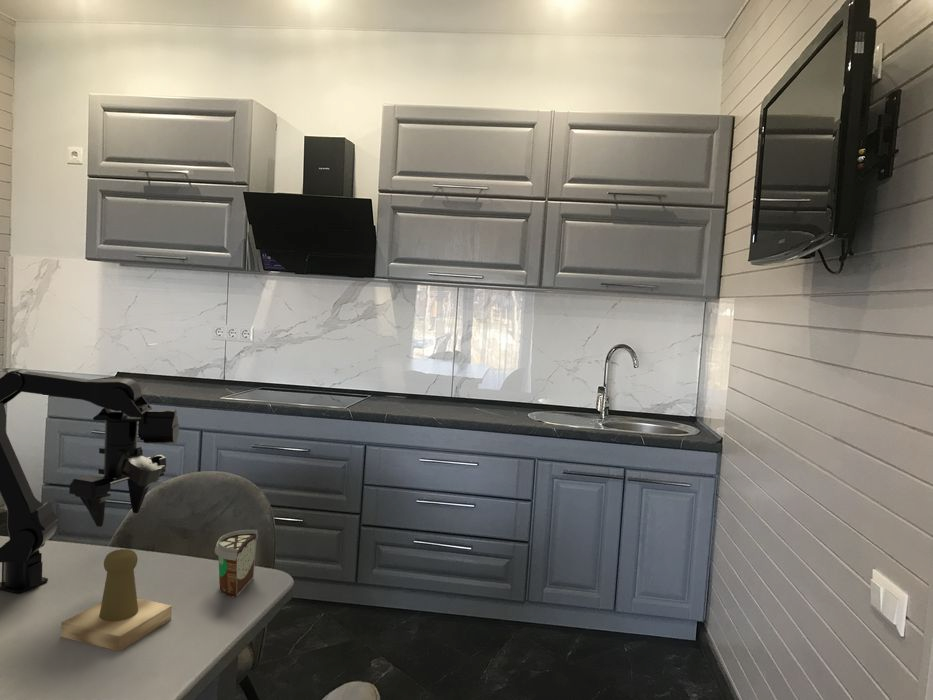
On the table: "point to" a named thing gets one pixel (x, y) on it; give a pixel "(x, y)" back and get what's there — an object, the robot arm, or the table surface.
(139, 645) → the table surface
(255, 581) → the table surface
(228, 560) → the food container
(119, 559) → the cork
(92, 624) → the oak board
